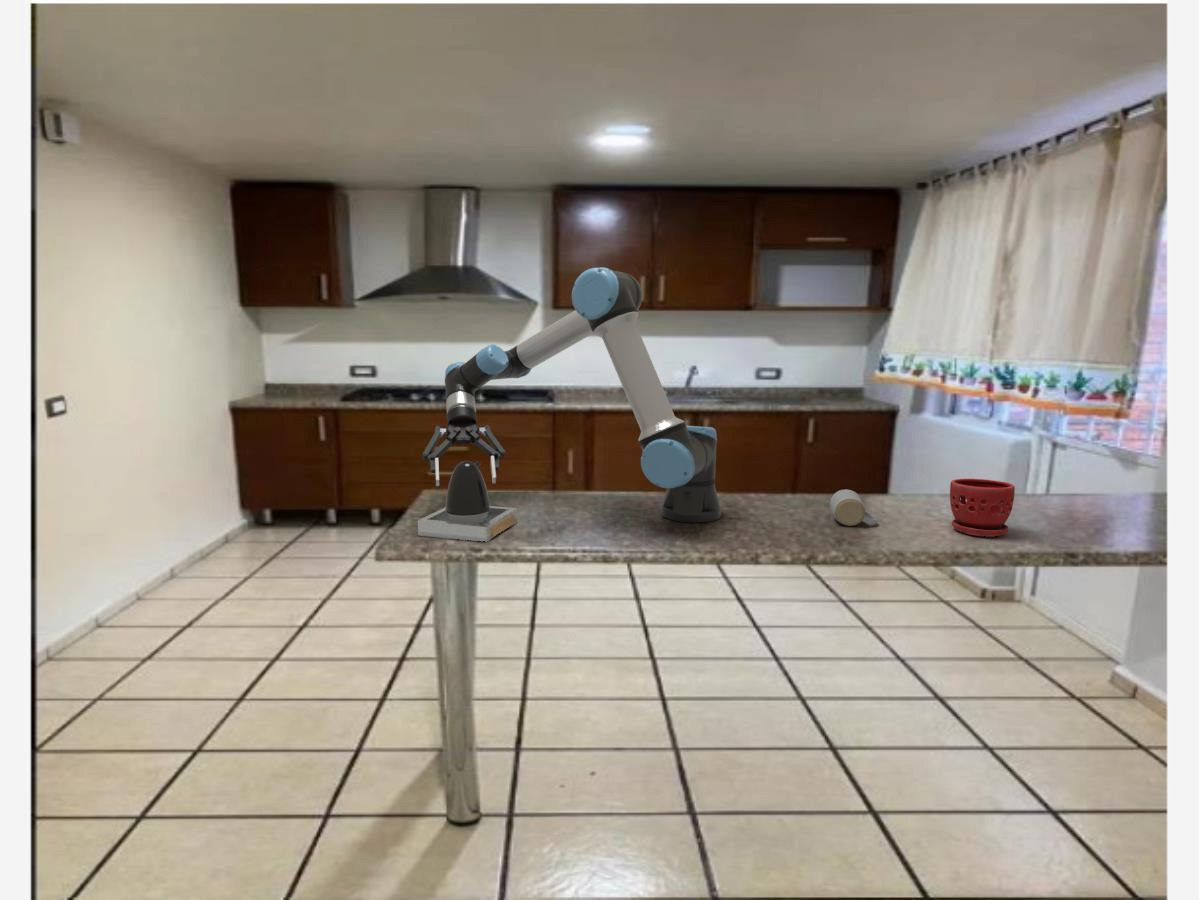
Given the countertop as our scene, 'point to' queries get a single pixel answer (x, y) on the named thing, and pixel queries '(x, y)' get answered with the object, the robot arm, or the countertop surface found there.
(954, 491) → the plant pot
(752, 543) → the countertop surface
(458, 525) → the flat gray box
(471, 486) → the black rounded piece
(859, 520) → the ceramic mug
